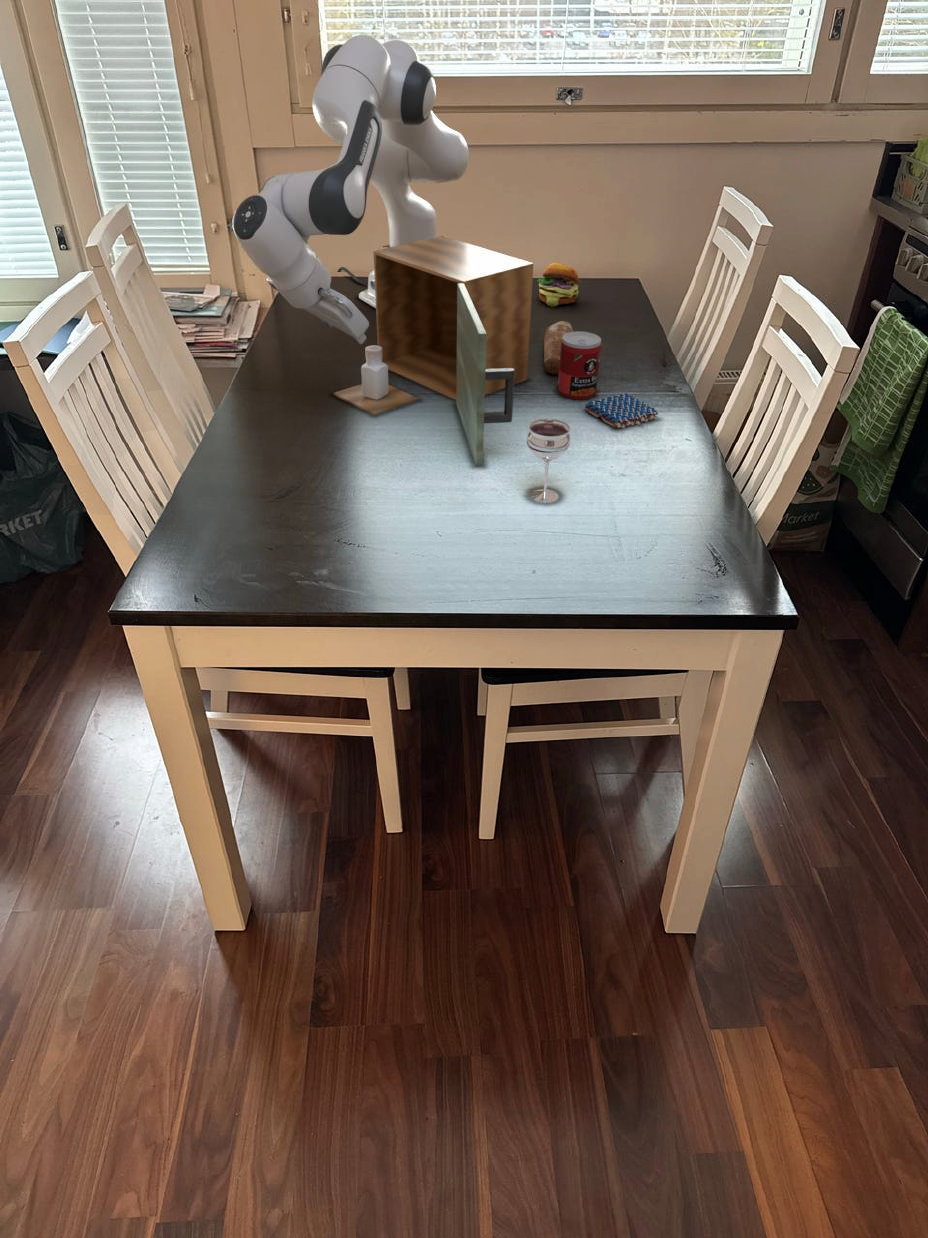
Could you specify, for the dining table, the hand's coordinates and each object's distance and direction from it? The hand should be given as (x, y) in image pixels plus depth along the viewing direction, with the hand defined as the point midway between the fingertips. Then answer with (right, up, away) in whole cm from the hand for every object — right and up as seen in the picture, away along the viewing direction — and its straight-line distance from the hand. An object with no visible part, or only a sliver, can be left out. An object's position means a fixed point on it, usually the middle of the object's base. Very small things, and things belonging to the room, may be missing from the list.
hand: (346, 331), depth 169 cm
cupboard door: (+25, -19, -2) cm, 32 cm away
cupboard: (+19, -2, +22) cm, 29 cm away
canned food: (+44, -8, +14) cm, 47 cm away
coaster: (+4, -10, +11) cm, 15 cm away
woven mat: (+52, -14, +6) cm, 54 cm away
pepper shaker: (+4, -9, +10) cm, 15 cm away
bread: (+42, +2, +28) cm, 51 cm away
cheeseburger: (+45, +27, +61) cm, 80 cm away
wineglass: (+35, -33, -20) cm, 52 cm away
